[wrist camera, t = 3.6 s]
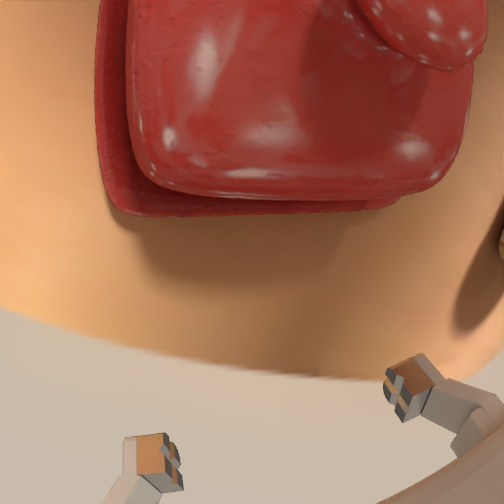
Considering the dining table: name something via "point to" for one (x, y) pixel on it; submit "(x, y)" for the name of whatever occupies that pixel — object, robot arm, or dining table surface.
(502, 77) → the dining table surface
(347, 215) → the dining table surface
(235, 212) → the butter dish
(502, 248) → the ceramic mug
